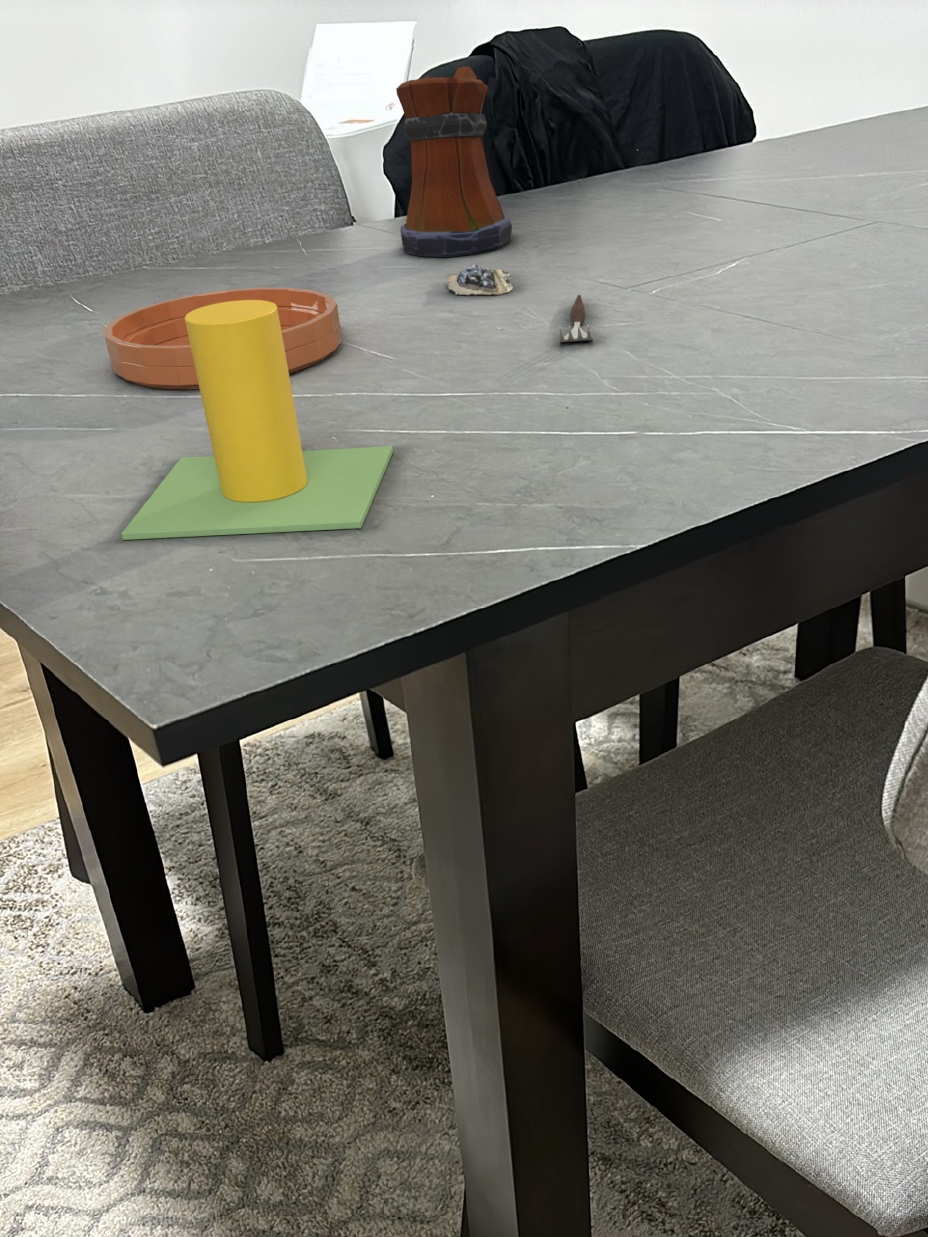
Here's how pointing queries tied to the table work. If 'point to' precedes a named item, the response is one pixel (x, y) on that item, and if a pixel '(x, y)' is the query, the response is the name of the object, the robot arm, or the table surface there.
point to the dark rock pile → (479, 281)
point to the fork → (576, 324)
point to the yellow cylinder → (247, 399)
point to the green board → (325, 503)
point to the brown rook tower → (449, 169)
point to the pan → (160, 346)
